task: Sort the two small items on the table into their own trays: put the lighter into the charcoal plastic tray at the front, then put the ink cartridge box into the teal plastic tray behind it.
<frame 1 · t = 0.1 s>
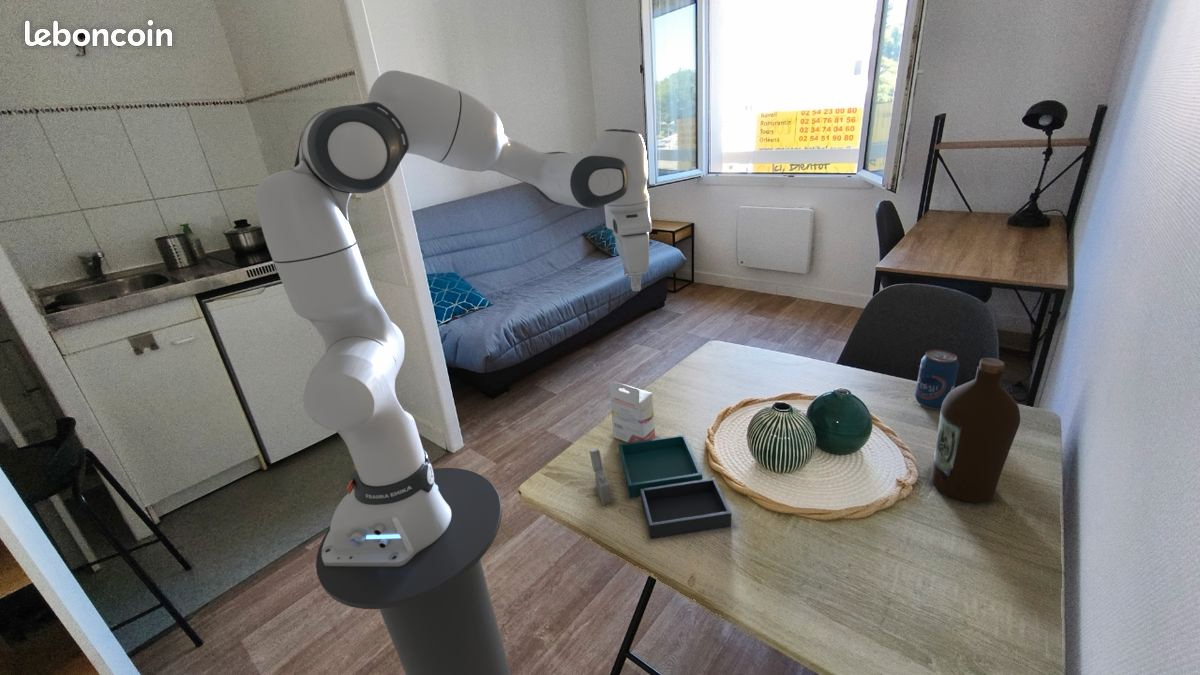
hand: (632, 283, 105), 34 cm above the table, tool pointing down, fingers open, 8 cm apart
front tray: (684, 513, 90), on the table
lighter: (602, 492, 98), on the table
soda can: (931, 403, 114), on the table
back tray: (658, 470, 102), on the table
ink cartridge box: (634, 438, 113), on the table
brown bottle: (960, 485, 91), on the table
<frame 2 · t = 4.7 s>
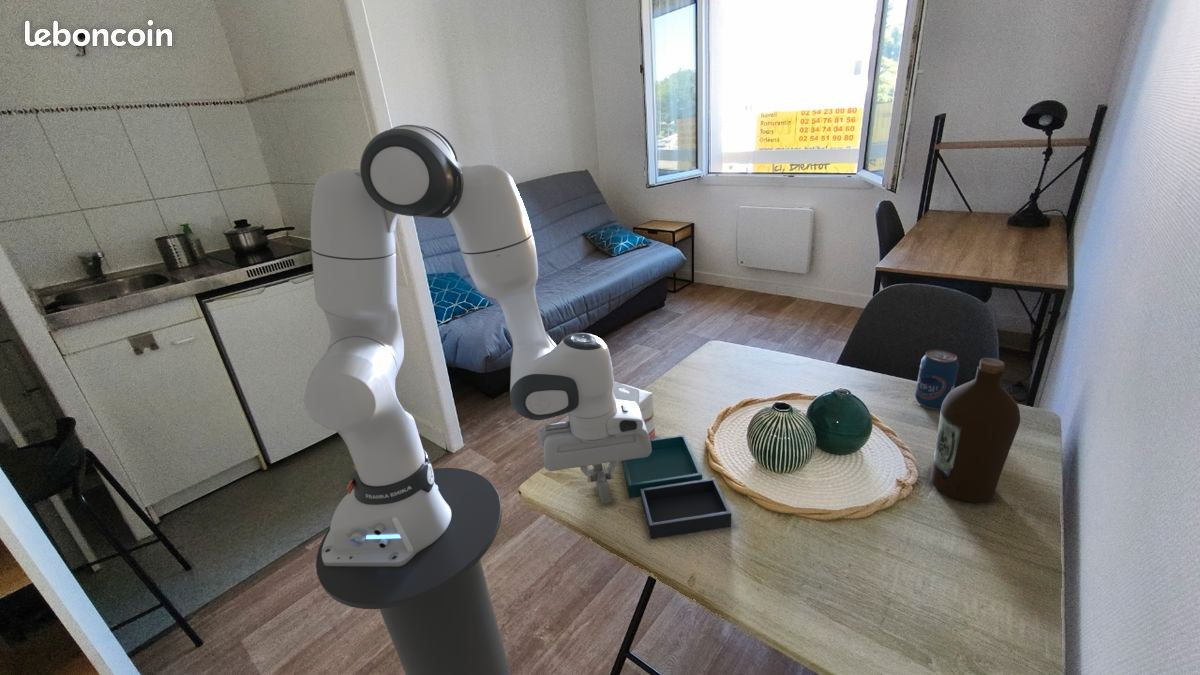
hand: (600, 478, 97), 3 cm above the table, tool pointing down, fingers closed on lighter, 2 cm apart
lighter: (602, 492, 98), on the table, touching gripper
everything else where it was.
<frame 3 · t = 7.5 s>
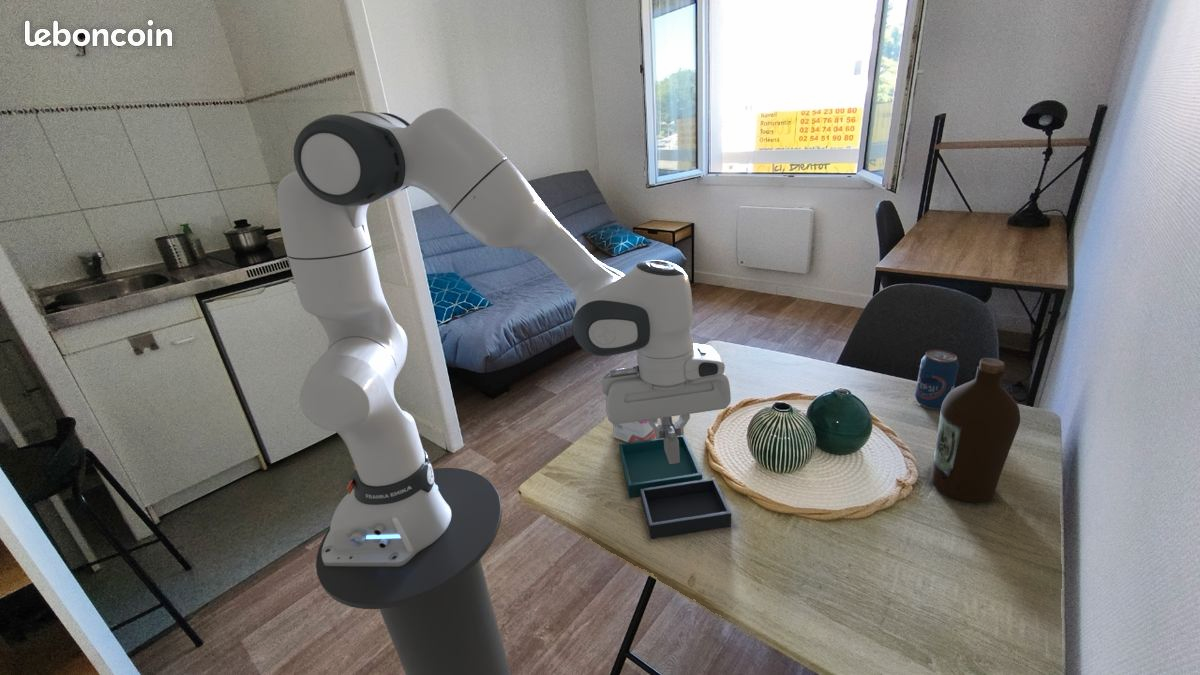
hand: (669, 435, 85), 17 cm above the table, tool pointing down, fingers closed on lighter
lighter: (669, 451, 86), point 13 cm above the table, touching gripper
everything else where it was.
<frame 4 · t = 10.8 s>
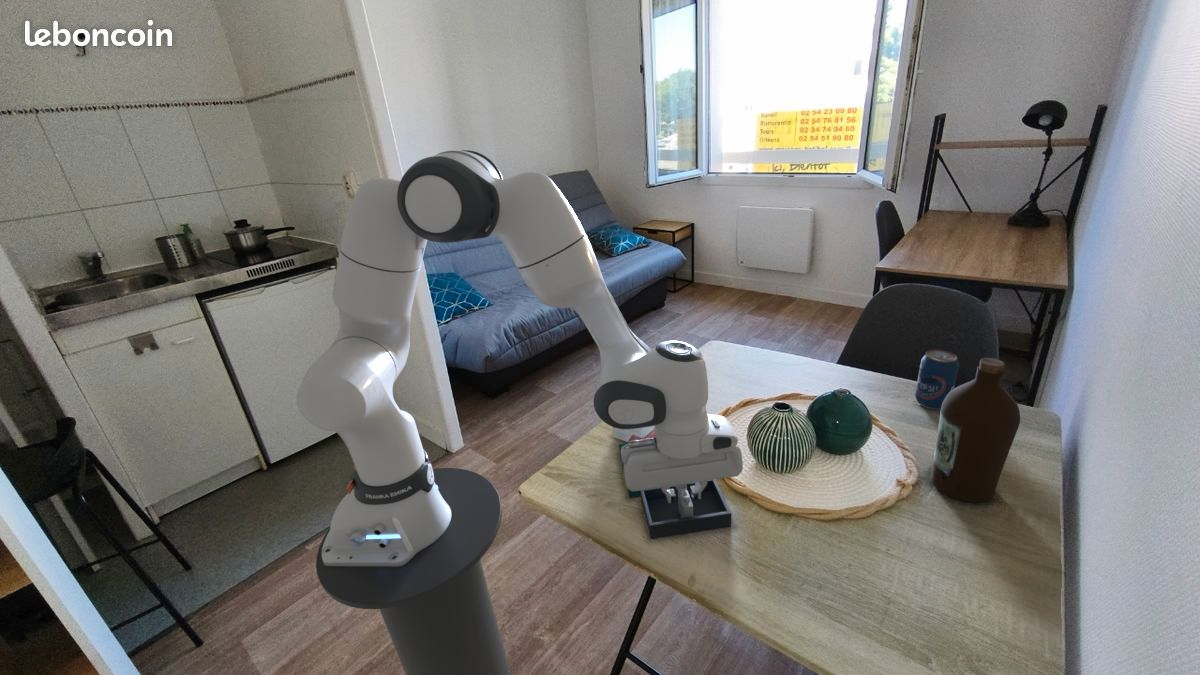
hand: (683, 498, 89), 4 cm above the table, tool pointing down, fingers open, 3 cm apart
lighter: (683, 512, 90), resting on front tray
everything else where it was.
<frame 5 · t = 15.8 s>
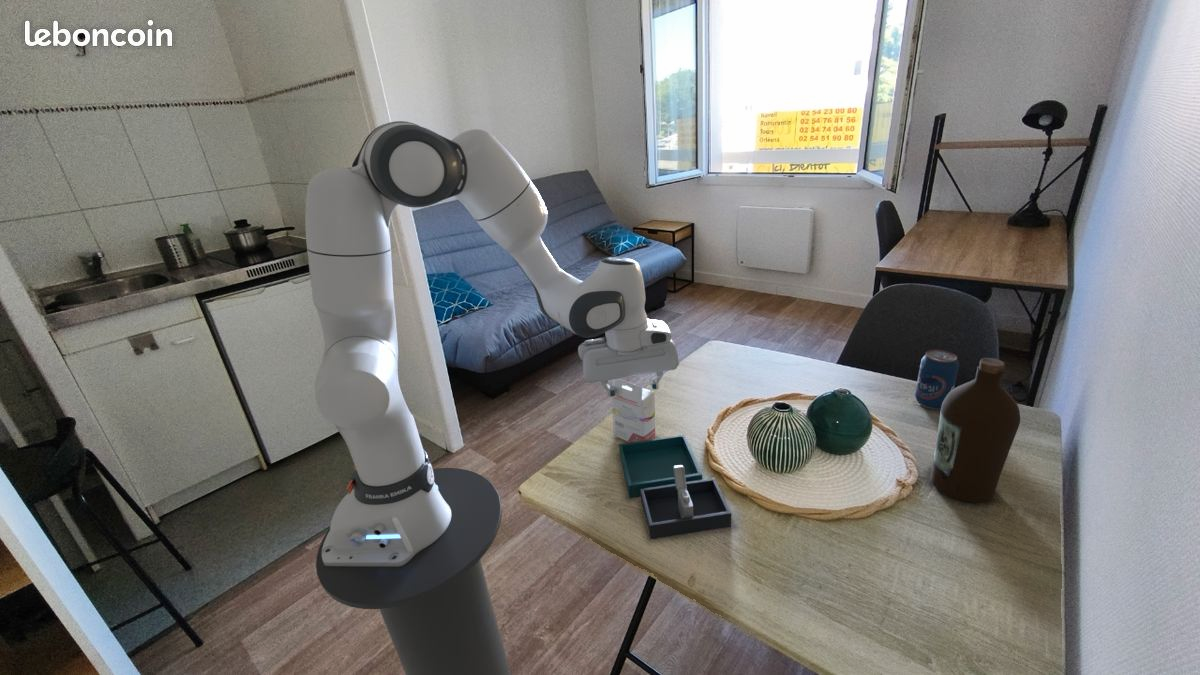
hand: (633, 391, 108), 12 cm above the table, tool pointing down
ink cartridge box: (634, 437, 113), on the table, touching gripper
everything else where it was.
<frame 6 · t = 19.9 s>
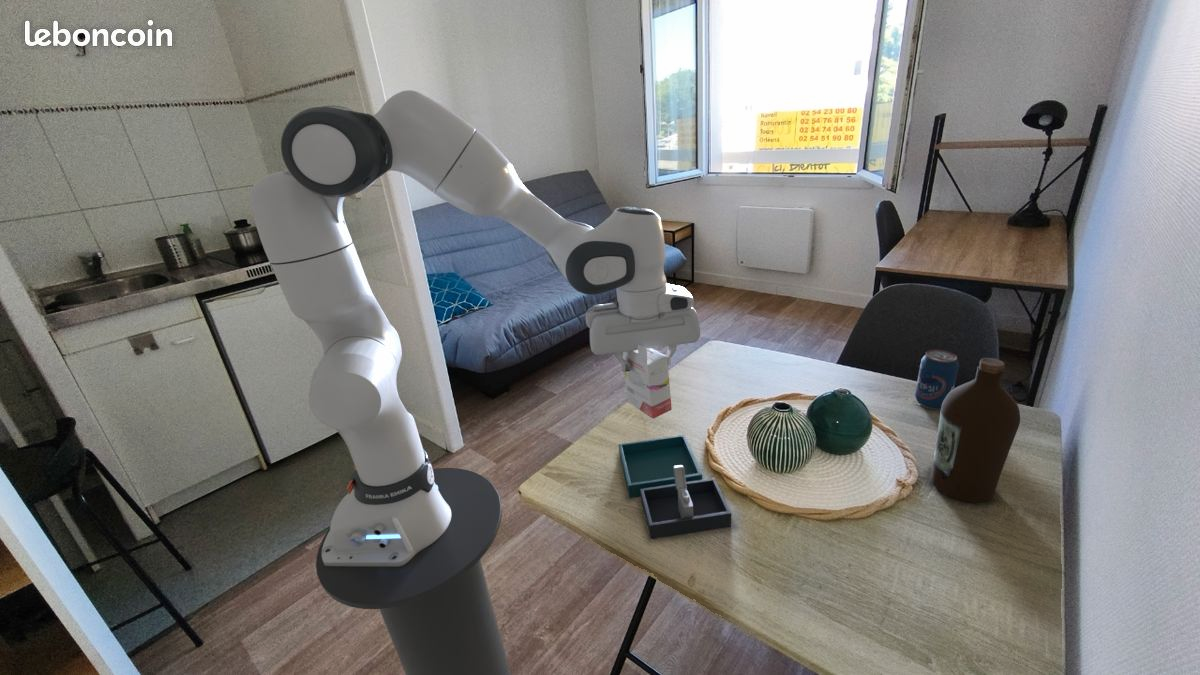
hand: (646, 367, 95), 22 cm above the table, tool pointing down, fingers closed on ink cartridge box, 6 cm apart
ink cartridge box: (649, 406, 99), point 14 cm above the table, touching gripper
everything else where it was.
when the fingers open (9 cm above the table, at t = 23.5 s): ink cartridge box stays where it is, resting on back tray.
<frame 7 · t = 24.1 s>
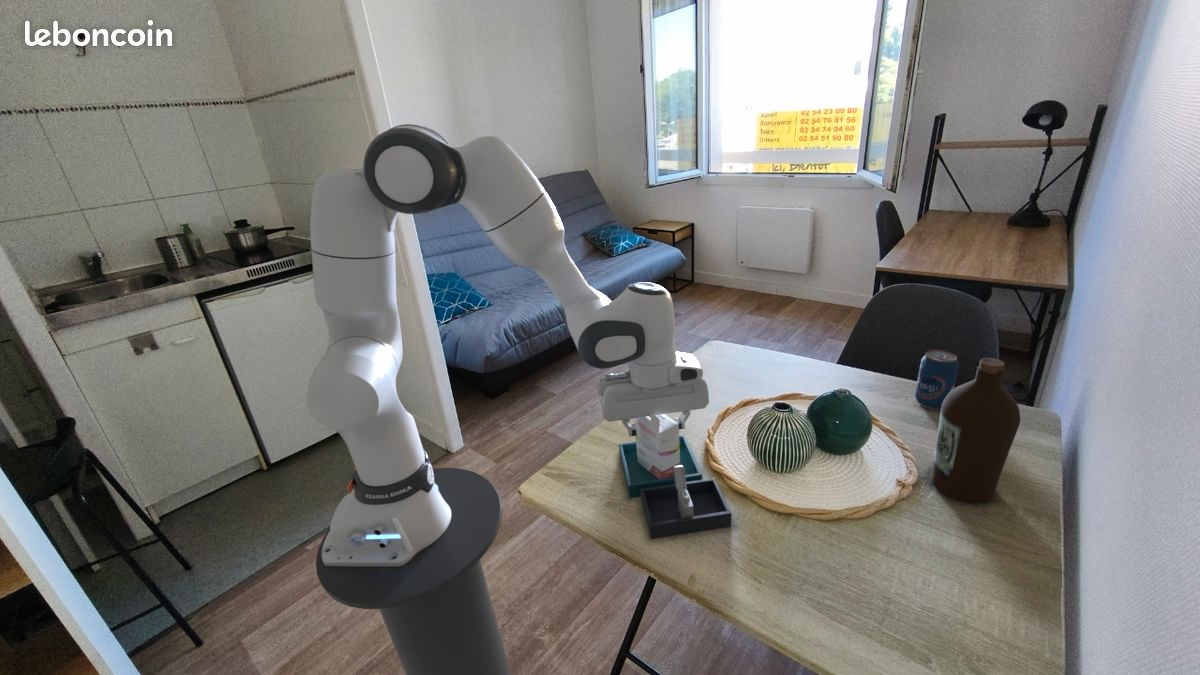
hand: (656, 431, 98), 10 cm above the table, tool pointing down, fingers open, 8 cm apart
ink cartridge box: (658, 468, 102), resting on back tray
everything else where it was.
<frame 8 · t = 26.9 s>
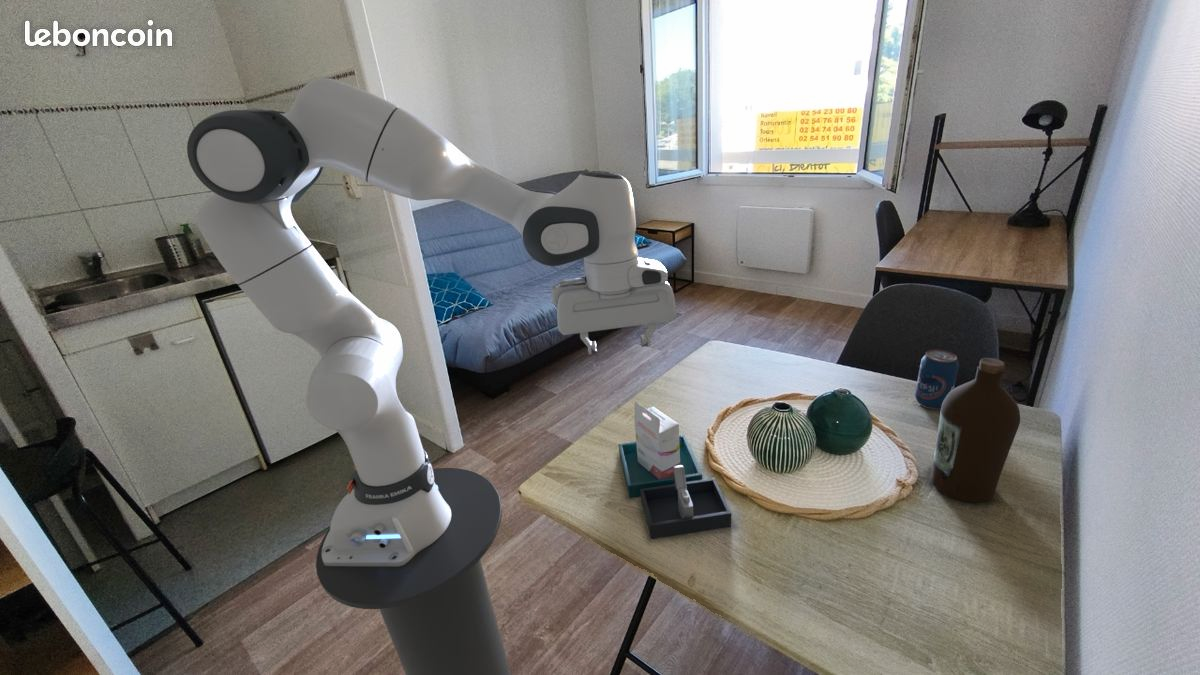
hand: (619, 349, 88), 29 cm above the table, tool pointing down, fingers open, 8 cm apart
nothing on the table moved.
at the end: lighter inside the target area in the front tray (0.1 cm from its centre), point 0.4 cm above the front tray's base; ink cartridge box inside the target area in the back tray (0.3 cm from its centre), point 0.4 cm above the back tray's base; ink cartridge box tilted 0° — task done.
